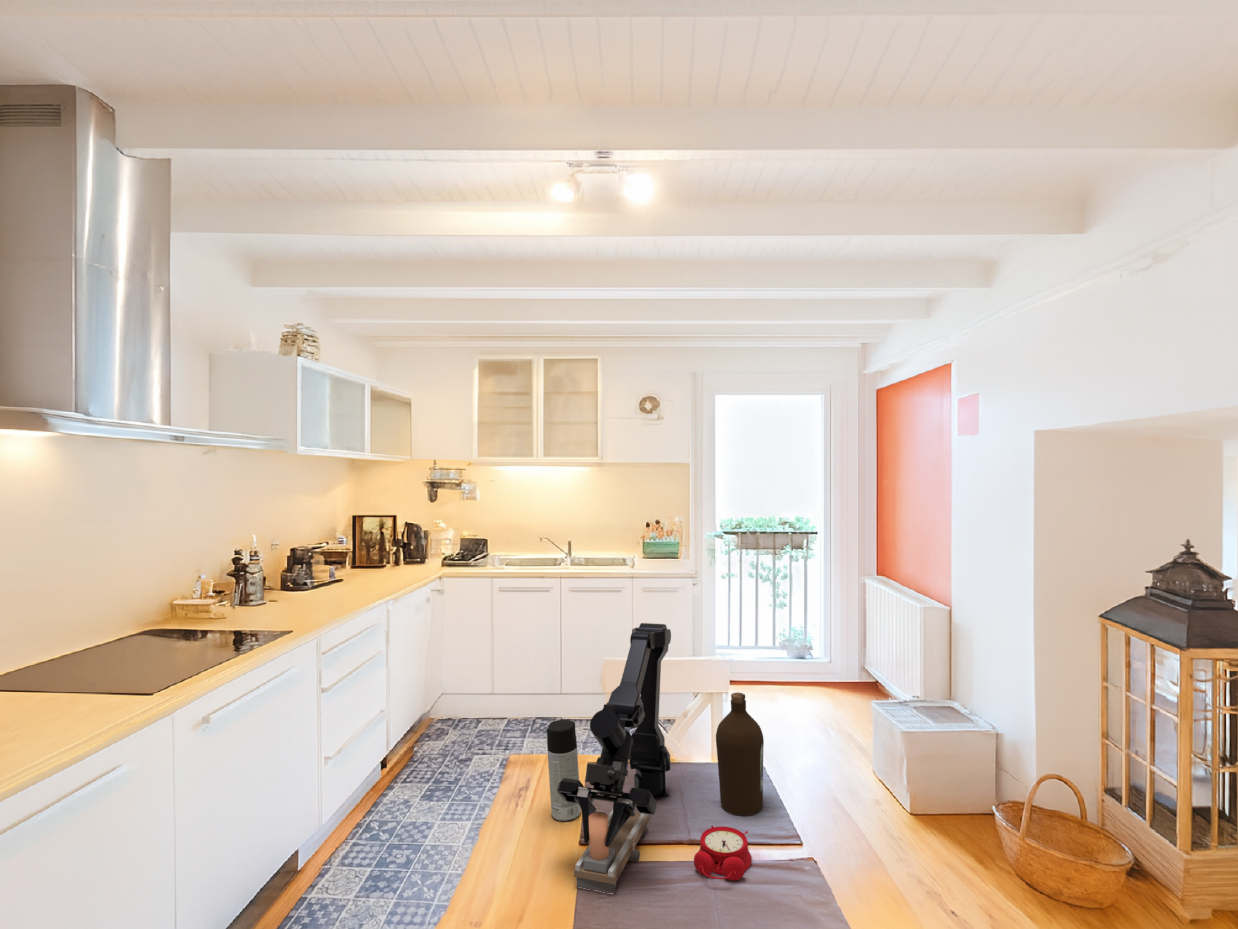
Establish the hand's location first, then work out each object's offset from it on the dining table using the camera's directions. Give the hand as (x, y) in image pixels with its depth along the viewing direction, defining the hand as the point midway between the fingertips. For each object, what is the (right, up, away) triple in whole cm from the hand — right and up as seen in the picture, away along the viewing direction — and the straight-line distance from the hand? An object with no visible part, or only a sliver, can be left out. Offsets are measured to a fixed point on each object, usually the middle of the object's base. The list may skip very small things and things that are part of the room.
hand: (596, 845), depth 121 cm
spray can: (-7, -8, +25) cm, 28 cm away
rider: (+1, -4, +1) cm, 4 cm away
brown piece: (+3, -7, +9) cm, 12 cm away
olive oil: (+32, -7, +27) cm, 42 cm away
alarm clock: (+24, -7, +5) cm, 26 cm away
